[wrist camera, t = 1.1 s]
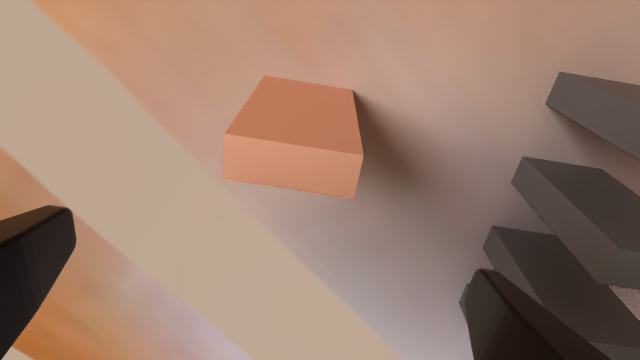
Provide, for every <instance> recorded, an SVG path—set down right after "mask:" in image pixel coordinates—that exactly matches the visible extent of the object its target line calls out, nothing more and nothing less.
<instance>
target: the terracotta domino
mask: <svg viewBox="0 0 640 360" xmlns="http://www.w3.org/2000/svg"><path fill="white" fill-rule="evenodd" d="M363 157H364V154H363V148H362V142H361V136H360V131H359V125H358V119H357V114H356V108H355V102H354V96H353V91H352V90H348V89H342V88H336V87H330V86H324V85H318V84H312V83H306V82H300V81H294V80H287V79H281V78H275V77H269V76H264V77H263V78H262V80H261V81H260V83H259V84H258V86H257V87H256V89H255V90H254V92H253V93H252V94H251V96H250V97H249V99H248V100H247V102H246V103H245V105H244V106H243V108H242V109H241V111H240V112H239V114H238V115H237V117H236V118H235V119H234V121H233V122H232V124H231V125H230V127H229V128H228V130H227V131H226V133H225V141H224V161H223V179H227V180H234V181H241V182H247V183H254V184H260V185H267V186H273V187H280V188H287V189H293V190H300V191H306V192H313V193H319V194H326V195H333V196H339V197H346V198H352V199H354V196H355V192H356V188H357V183H358V179H359V175H360V170H361V166H362V161H363Z"/></svg>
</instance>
